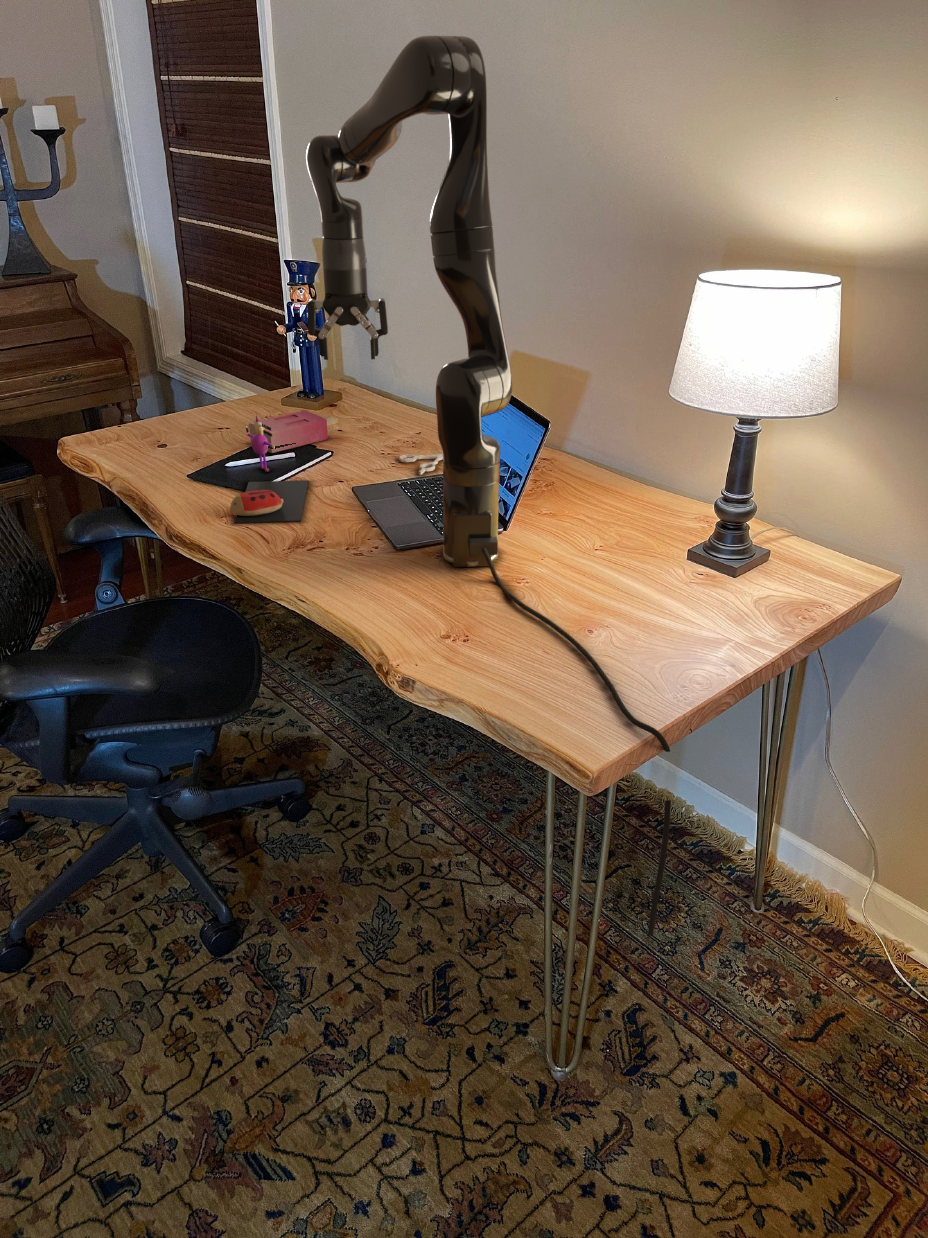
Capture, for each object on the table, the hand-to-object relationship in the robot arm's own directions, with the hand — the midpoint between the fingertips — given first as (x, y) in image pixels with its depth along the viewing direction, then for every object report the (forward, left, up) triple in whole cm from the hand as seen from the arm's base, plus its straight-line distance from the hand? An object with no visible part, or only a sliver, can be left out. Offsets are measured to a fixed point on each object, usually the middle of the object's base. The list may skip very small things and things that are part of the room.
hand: (349, 358), depth 165 cm
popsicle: (+33, +14, -26) cm, 44 cm away
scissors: (+18, -18, -26) cm, 36 cm away
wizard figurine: (+13, +20, -26) cm, 36 cm away
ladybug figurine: (-9, +18, -26) cm, 33 cm away
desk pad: (-4, +16, -26) cm, 31 cm away
